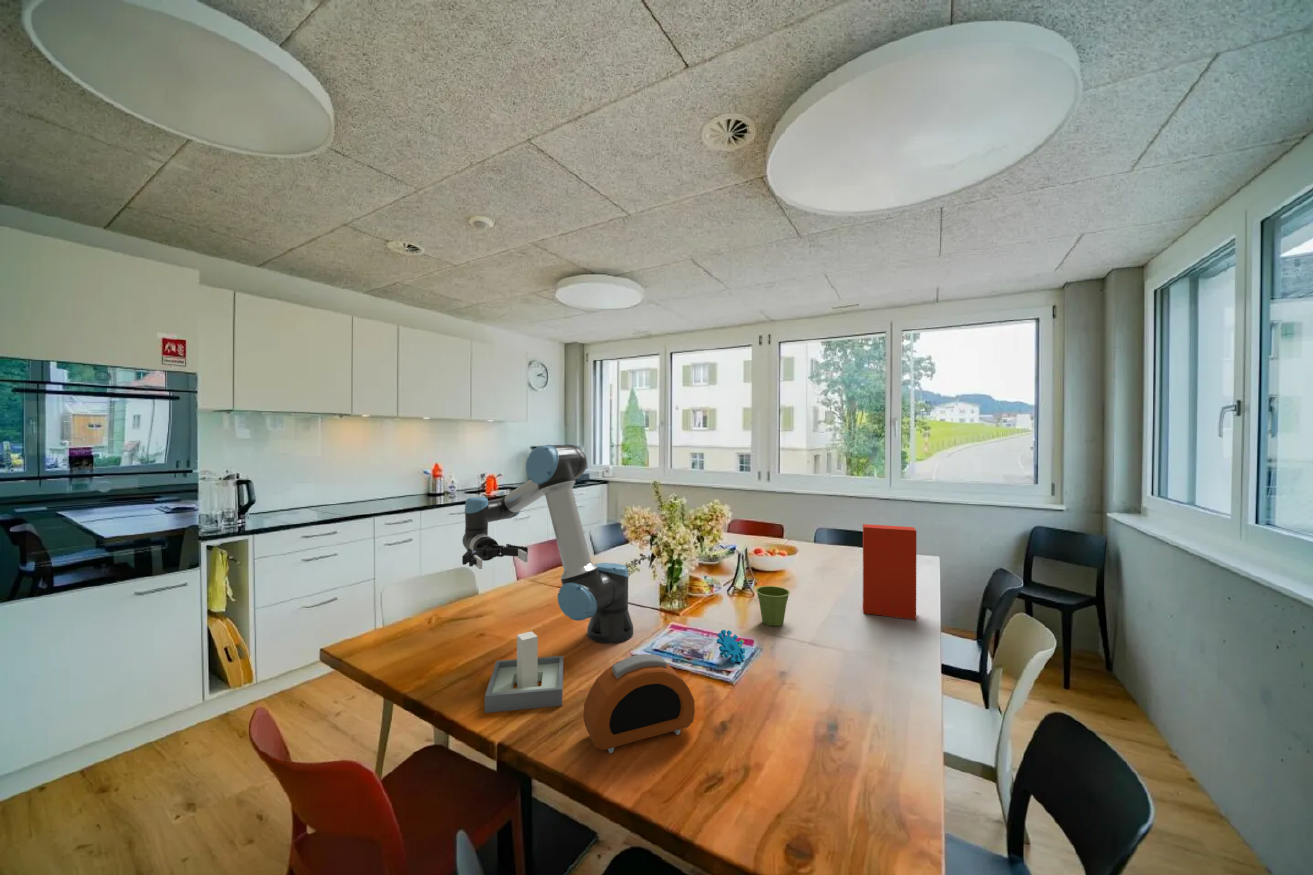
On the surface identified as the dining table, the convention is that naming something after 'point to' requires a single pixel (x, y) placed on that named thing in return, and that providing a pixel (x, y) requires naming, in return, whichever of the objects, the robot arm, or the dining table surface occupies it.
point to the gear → (730, 646)
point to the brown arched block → (637, 702)
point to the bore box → (546, 695)
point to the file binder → (889, 571)
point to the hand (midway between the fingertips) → (504, 560)
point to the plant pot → (772, 604)
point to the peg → (527, 660)
